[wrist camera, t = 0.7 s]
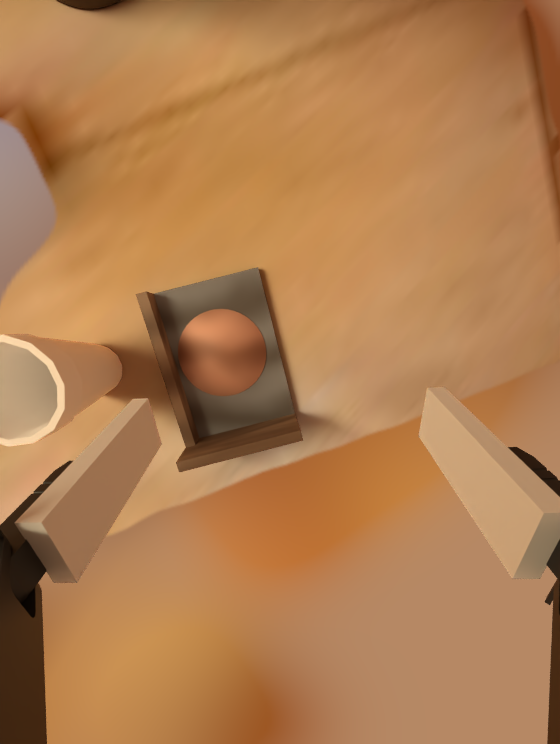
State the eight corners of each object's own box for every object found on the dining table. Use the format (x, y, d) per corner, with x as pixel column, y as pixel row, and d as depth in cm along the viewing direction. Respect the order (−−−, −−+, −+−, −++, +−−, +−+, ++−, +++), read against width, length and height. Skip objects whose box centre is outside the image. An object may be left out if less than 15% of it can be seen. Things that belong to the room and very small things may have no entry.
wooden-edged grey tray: (146, 296, 35) (117, 289, 29) (258, 268, 36) (256, 254, 29) (194, 446, 39) (179, 472, 32) (296, 419, 39) (303, 440, 32)
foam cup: (51, 391, 37) (-64, 426, 24) (67, 321, 35) (-45, 319, 23) (125, 413, 38) (52, 458, 25) (143, 346, 36) (77, 357, 24)
